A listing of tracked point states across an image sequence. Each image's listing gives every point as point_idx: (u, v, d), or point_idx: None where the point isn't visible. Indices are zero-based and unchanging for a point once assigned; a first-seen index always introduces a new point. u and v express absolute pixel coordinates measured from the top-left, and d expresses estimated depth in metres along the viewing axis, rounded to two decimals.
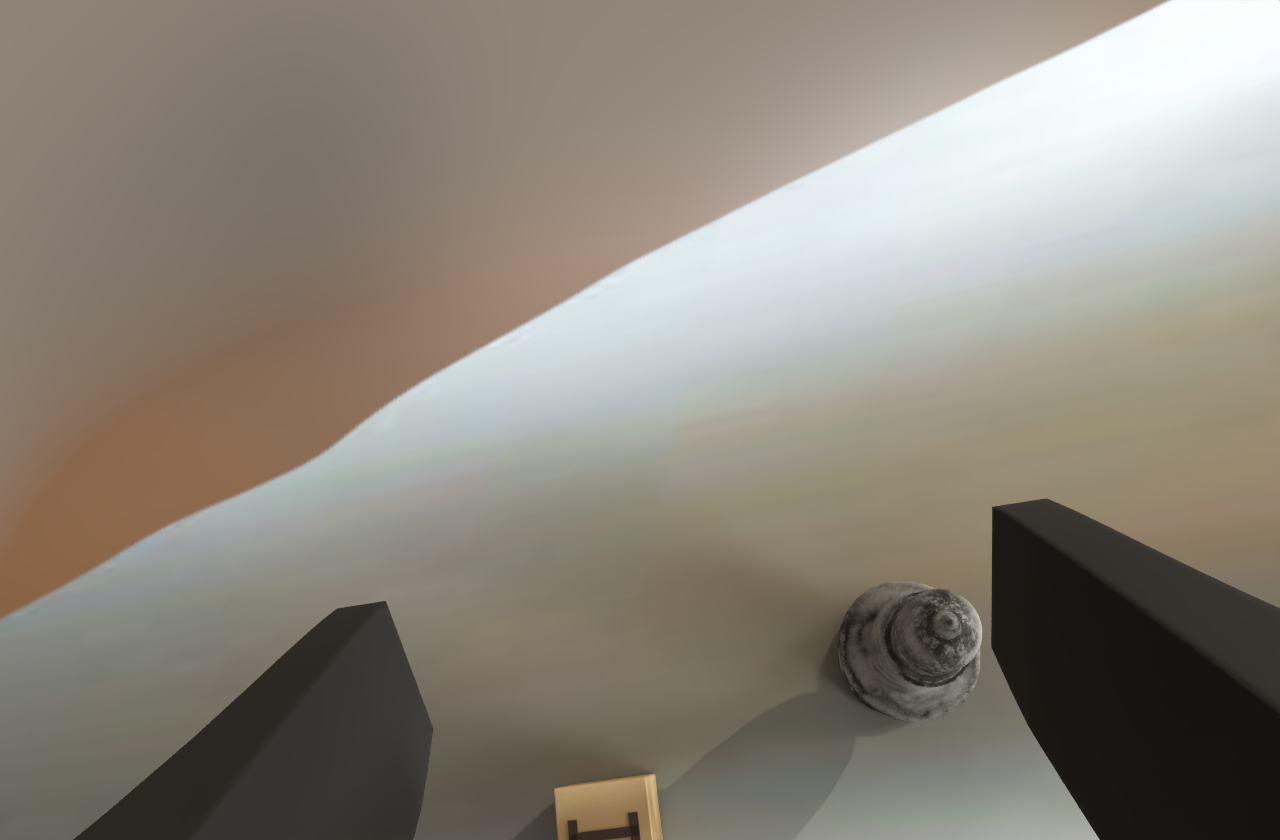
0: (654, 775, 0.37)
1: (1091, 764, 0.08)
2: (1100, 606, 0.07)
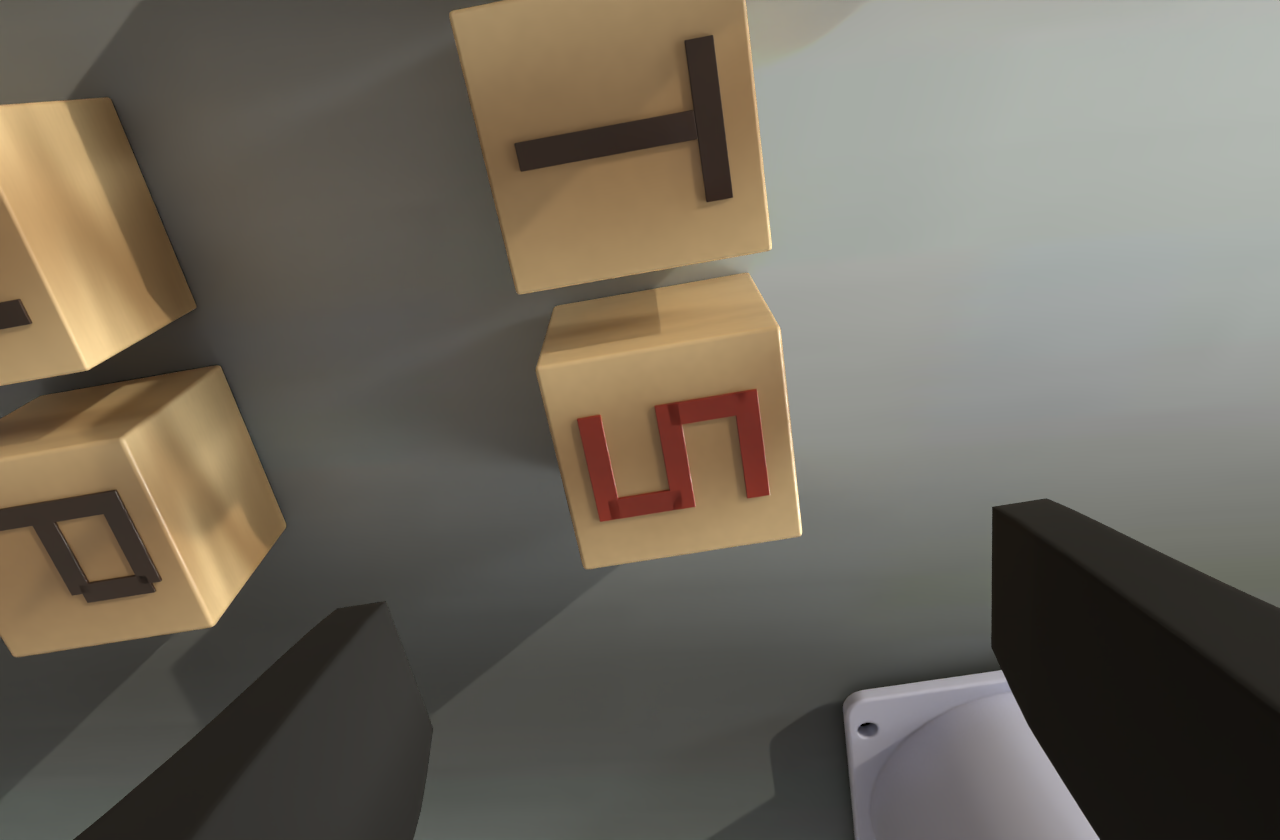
0: None
1: (1091, 764, 0.08)
2: (1100, 606, 0.07)
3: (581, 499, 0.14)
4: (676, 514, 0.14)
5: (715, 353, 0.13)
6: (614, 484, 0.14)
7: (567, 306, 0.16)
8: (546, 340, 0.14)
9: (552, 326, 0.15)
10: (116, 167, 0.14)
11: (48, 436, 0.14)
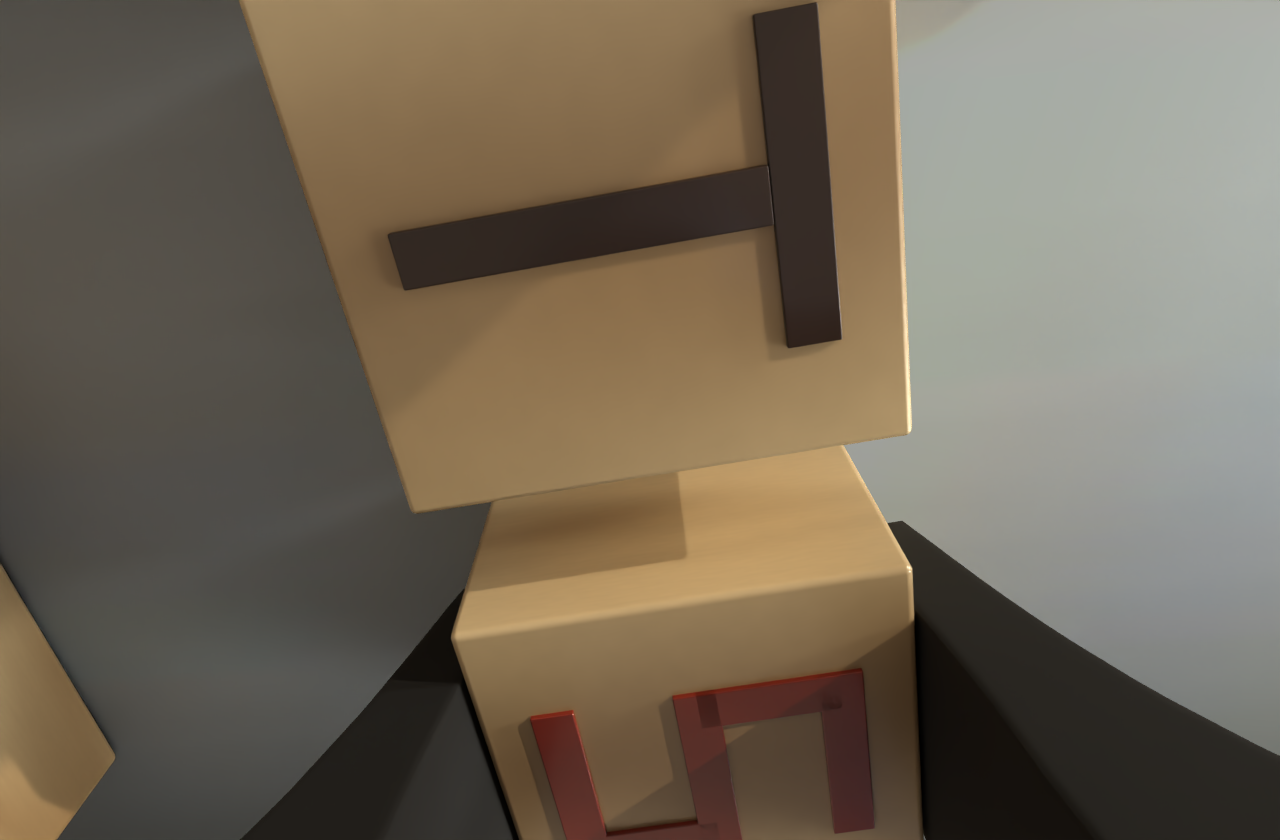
0: None
1: (924, 788, 0.08)
2: (916, 633, 0.07)
3: (541, 835, 0.08)
4: None
5: (788, 611, 0.07)
6: (600, 812, 0.08)
7: None
8: (481, 549, 0.08)
9: (497, 508, 0.09)
10: None
11: None
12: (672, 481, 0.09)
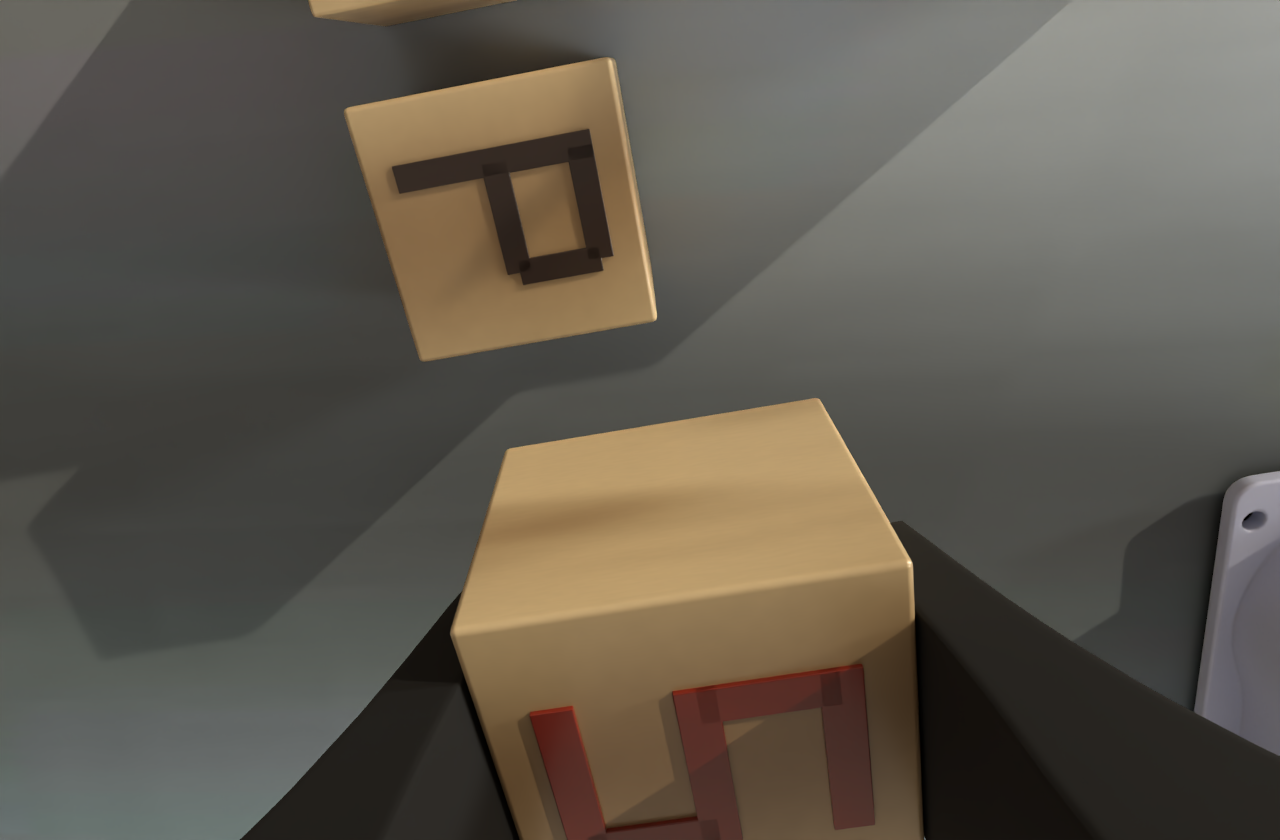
0: None
1: (925, 788, 0.08)
2: (916, 633, 0.07)
3: (541, 831, 0.08)
4: None
5: (789, 607, 0.07)
6: (599, 808, 0.08)
7: (526, 452, 0.10)
8: (481, 544, 0.08)
9: (496, 504, 0.09)
10: None
11: None
12: (672, 477, 0.09)
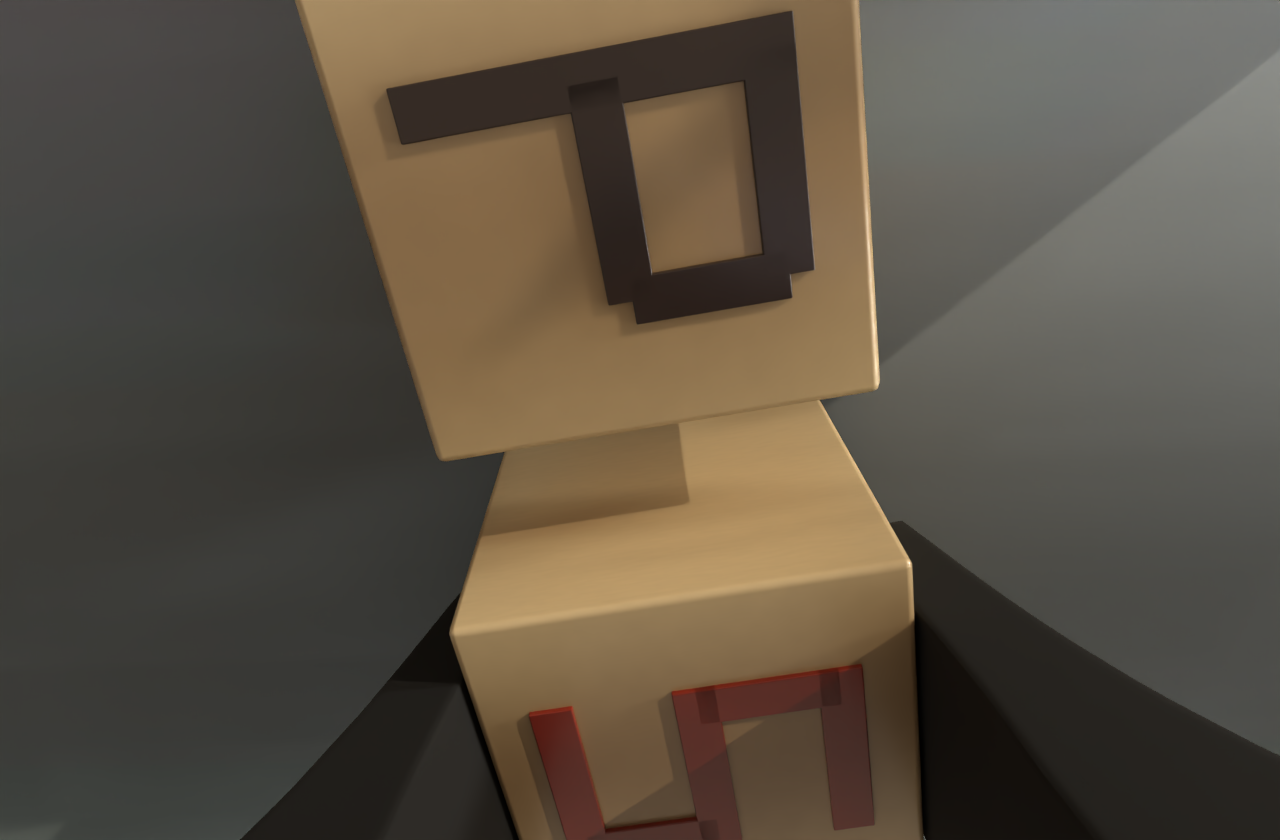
0: None
1: (924, 787, 0.08)
2: (916, 633, 0.07)
3: (540, 832, 0.08)
4: None
5: (788, 607, 0.07)
6: (598, 808, 0.08)
7: (526, 452, 0.10)
8: (480, 545, 0.08)
9: (495, 504, 0.09)
10: None
11: None
12: (671, 477, 0.09)
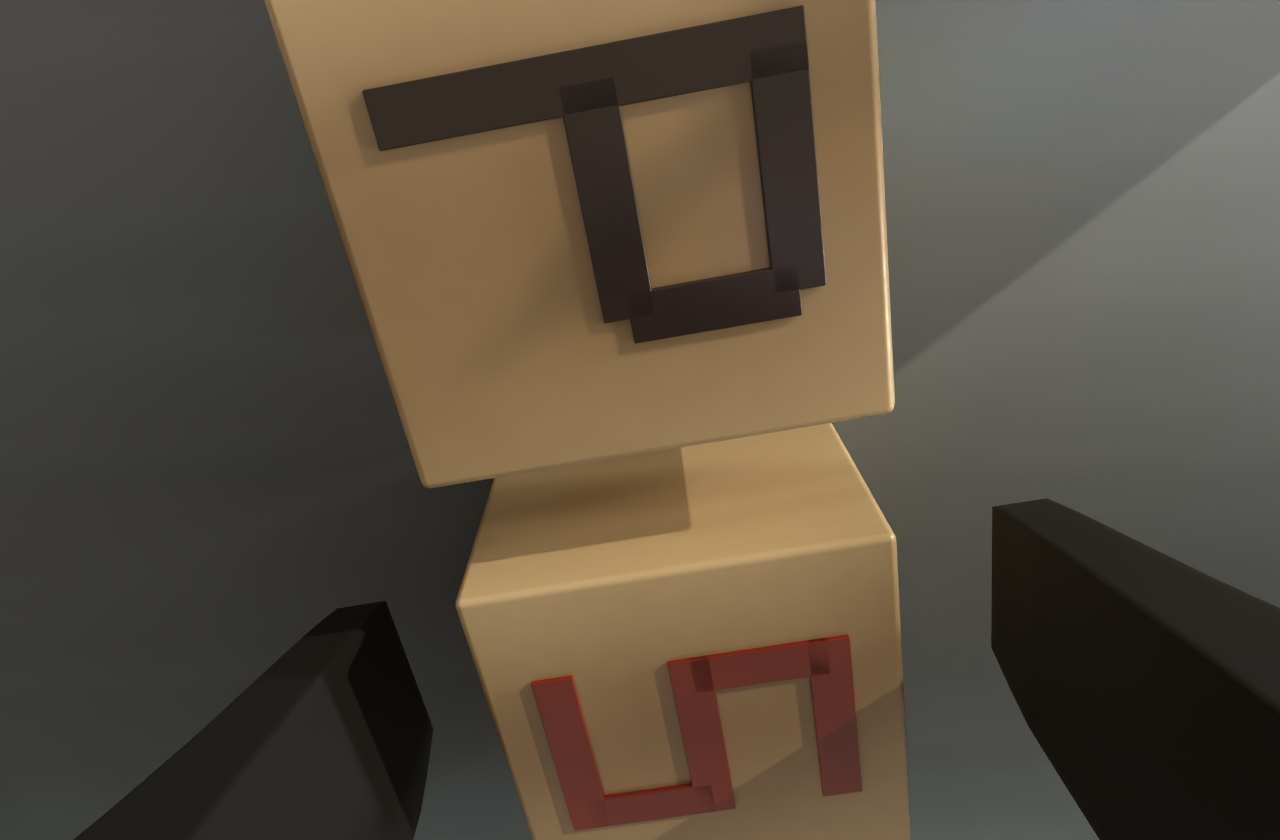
0: None
1: (1091, 764, 0.08)
2: (1100, 606, 0.07)
3: (542, 798, 0.08)
4: (703, 818, 0.08)
5: (779, 579, 0.07)
6: (597, 775, 0.08)
7: None
8: (484, 523, 0.08)
9: (498, 486, 0.09)
10: None
11: None
12: (668, 460, 0.09)
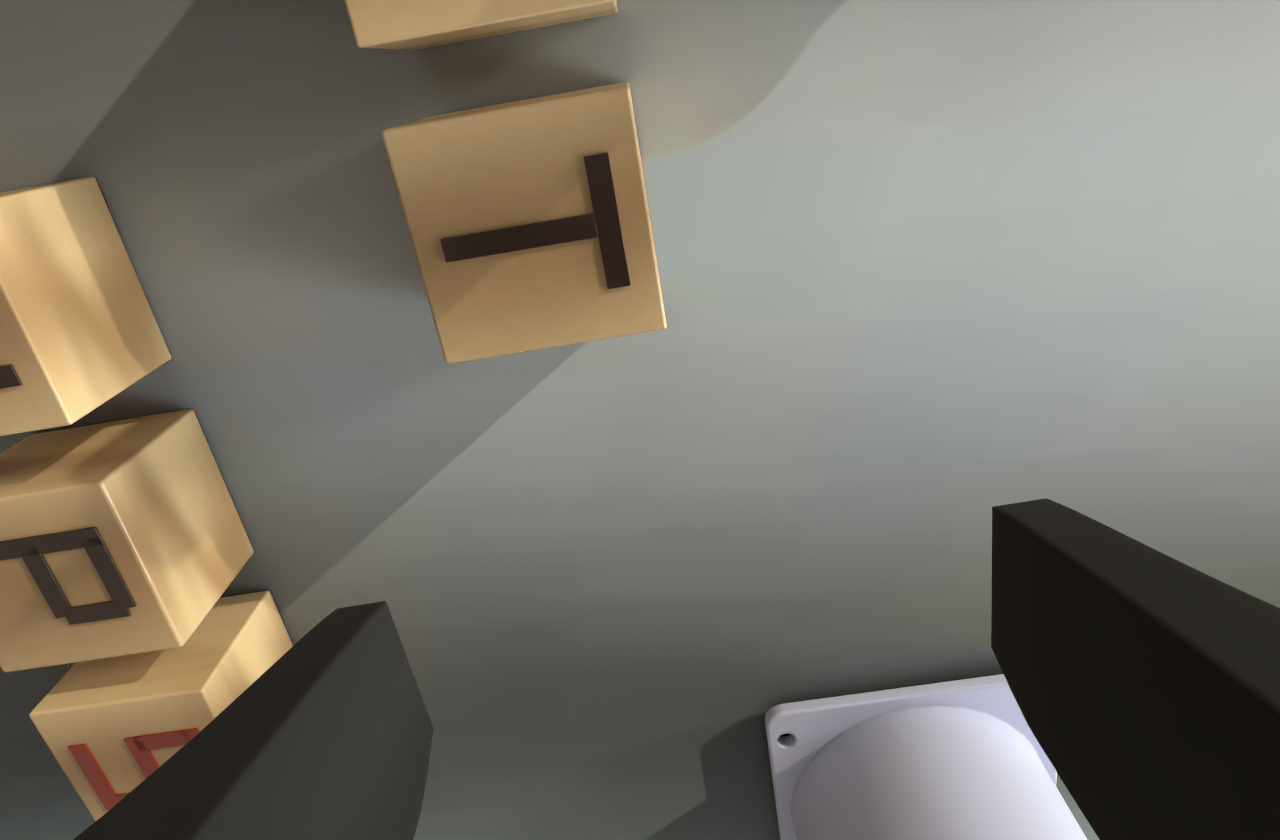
0: None
1: (1091, 764, 0.08)
2: (1100, 606, 0.07)
3: (88, 795, 0.18)
4: None
5: (159, 706, 0.17)
6: (112, 785, 0.18)
7: None
8: (68, 671, 0.19)
9: None
10: (99, 239, 0.16)
11: (36, 478, 0.16)
12: None
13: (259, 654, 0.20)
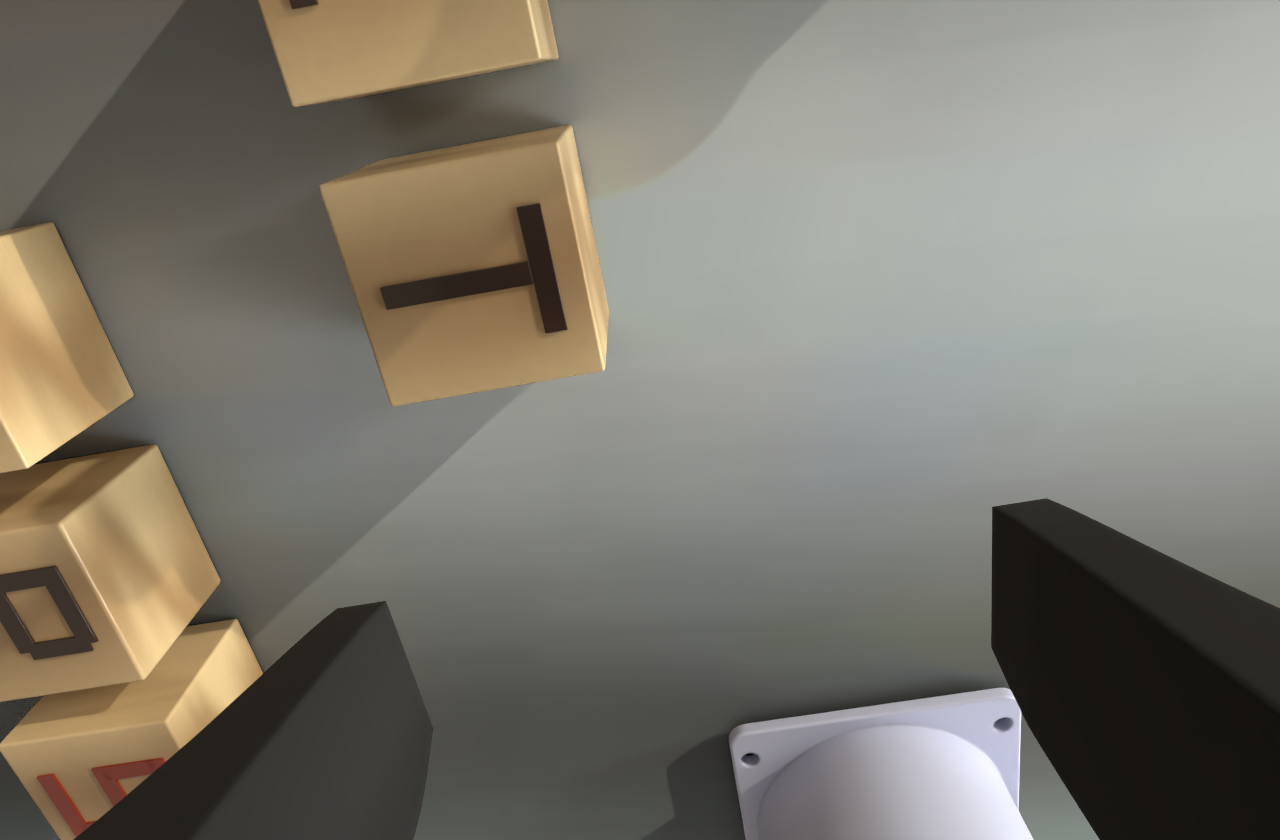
0: None
1: (1091, 765, 0.08)
2: (1100, 606, 0.07)
3: (58, 823, 0.19)
4: None
5: (124, 737, 0.18)
6: (81, 813, 0.19)
7: None
8: (38, 702, 0.19)
9: None
10: (58, 284, 0.17)
11: None
12: None
13: (226, 682, 0.20)
